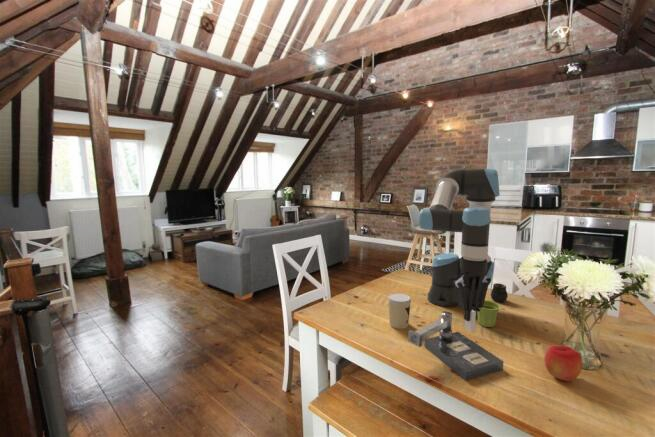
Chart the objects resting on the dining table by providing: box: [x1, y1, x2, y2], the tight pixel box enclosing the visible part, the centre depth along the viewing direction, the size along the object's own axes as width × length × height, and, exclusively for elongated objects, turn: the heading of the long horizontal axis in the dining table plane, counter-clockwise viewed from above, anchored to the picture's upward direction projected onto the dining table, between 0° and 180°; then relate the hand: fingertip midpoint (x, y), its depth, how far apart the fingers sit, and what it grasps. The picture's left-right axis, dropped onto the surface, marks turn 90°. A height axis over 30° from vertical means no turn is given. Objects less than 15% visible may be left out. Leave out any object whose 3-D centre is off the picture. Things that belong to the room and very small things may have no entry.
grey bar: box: [407, 310, 453, 348], centre depth 107 cm, size 21×4×6 cm, turn 128°
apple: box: [543, 344, 583, 382], centre depth 94 cm, size 10×10×10 cm
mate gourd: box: [490, 282, 508, 303], centre depth 151 cm, size 7×8×10 cm
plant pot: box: [477, 299, 501, 328], centre depth 128 cm, size 9×9×9 cm
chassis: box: [424, 329, 504, 382], centre depth 106 cm, size 15×20×6 cm
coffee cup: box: [387, 292, 412, 330], centre depth 129 cm, size 9×9×12 cm
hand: (469, 329), depth 98 cm, fingers closed
